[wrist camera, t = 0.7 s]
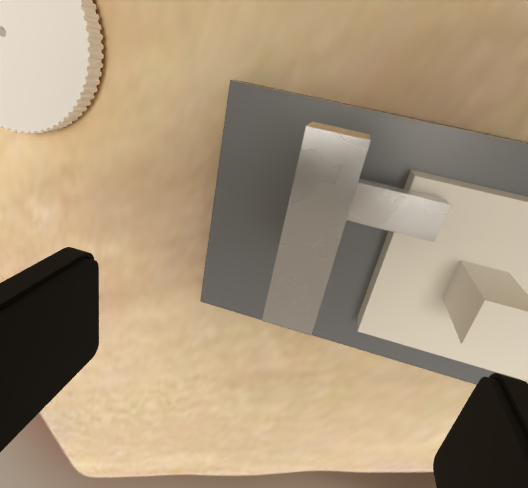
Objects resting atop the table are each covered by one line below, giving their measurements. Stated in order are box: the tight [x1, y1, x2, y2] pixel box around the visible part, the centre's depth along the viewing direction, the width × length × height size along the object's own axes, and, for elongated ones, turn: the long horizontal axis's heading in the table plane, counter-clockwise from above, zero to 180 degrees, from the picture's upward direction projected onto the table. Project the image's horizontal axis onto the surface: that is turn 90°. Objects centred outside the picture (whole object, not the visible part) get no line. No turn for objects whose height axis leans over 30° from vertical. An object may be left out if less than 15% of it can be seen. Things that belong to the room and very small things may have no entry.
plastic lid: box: [0, 0, 104, 134], centre depth 27 cm, size 14×14×2 cm
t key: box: [262, 122, 450, 335], centre depth 20 cm, size 8×9×11 cm
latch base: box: [201, 80, 528, 385], centre depth 27 cm, size 26×18×2 cm
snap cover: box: [358, 170, 528, 381], centre depth 23 cm, size 12×12×7 cm
